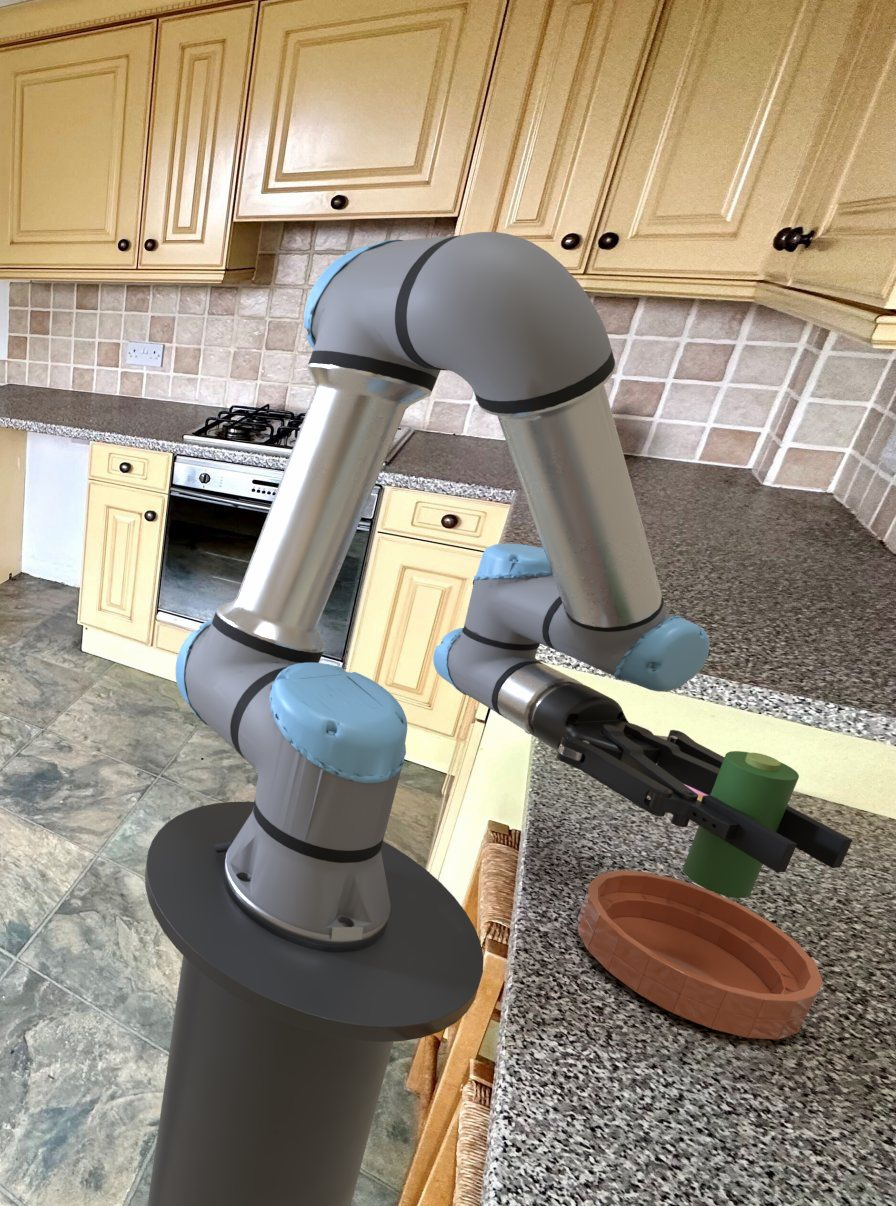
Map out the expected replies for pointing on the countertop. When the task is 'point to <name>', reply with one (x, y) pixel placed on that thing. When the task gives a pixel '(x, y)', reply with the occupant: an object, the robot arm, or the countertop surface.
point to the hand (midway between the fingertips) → (814, 855)
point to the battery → (754, 792)
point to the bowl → (698, 954)
